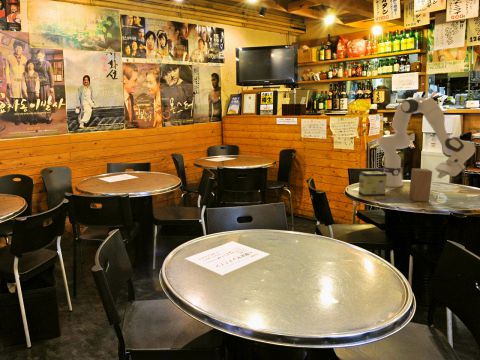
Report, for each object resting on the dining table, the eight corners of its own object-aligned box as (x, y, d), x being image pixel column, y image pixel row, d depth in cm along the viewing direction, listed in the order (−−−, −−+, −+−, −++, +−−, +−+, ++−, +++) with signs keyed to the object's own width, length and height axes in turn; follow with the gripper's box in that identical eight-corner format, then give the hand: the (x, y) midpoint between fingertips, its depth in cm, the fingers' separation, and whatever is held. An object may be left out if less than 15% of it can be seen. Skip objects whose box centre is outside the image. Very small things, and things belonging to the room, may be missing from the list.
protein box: (358, 193, 299) (359, 171, 296) (379, 192, 301) (380, 171, 298) (363, 196, 289) (364, 173, 286) (385, 196, 290) (387, 173, 288)
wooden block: (424, 198, 283) (427, 168, 279) (429, 201, 273) (432, 171, 269) (408, 197, 284) (411, 168, 280) (413, 201, 274) (416, 170, 270)
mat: (374, 198, 282) (374, 198, 282) (405, 198, 284) (405, 197, 284) (382, 203, 270) (382, 202, 269) (415, 202, 272) (415, 202, 271)
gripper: (442, 157, 286) (427, 171, 286) (460, 161, 265) (444, 176, 266) (448, 163, 287) (433, 178, 288) (466, 168, 267) (450, 183, 267)
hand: (438, 177), depth 277 cm, fingers closed
